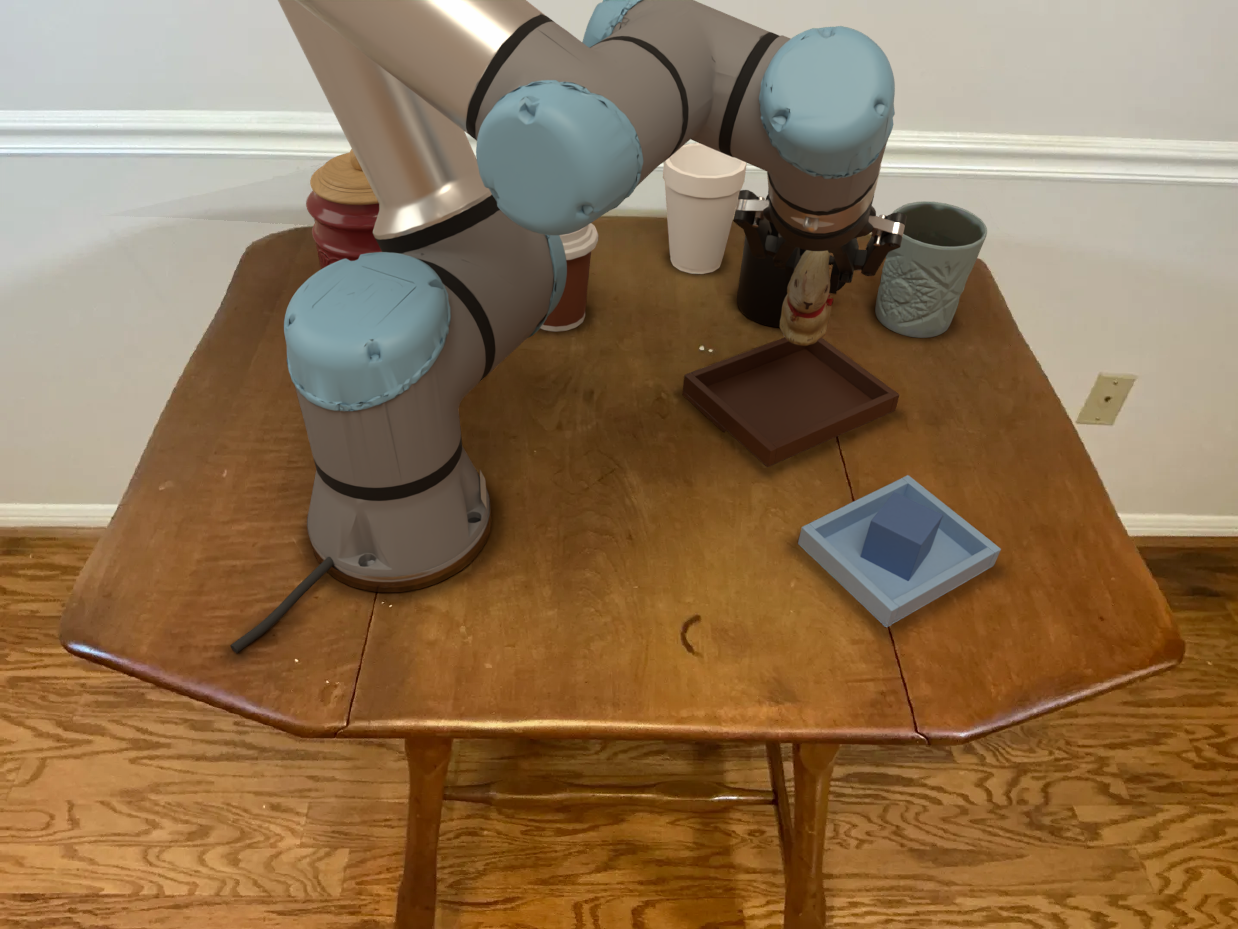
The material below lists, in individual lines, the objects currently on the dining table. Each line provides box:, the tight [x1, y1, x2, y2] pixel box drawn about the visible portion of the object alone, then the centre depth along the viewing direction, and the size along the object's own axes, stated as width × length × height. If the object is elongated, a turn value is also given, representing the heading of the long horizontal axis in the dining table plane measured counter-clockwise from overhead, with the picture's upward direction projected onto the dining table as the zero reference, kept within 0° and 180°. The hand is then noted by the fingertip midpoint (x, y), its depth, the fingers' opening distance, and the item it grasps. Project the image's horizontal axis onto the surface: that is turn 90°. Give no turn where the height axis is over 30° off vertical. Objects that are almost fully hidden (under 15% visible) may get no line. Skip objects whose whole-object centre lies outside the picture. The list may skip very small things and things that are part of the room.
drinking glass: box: [874, 201, 988, 339], centre depth 105 cm, size 10×10×12 cm
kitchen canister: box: [305, 148, 382, 270], centre depth 103 cm, size 13×13×18 cm
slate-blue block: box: [860, 492, 943, 581], centre depth 79 cm, size 4×4×4 cm
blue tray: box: [797, 474, 1002, 628], centre depth 80 cm, size 13×11×3 cm
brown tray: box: [681, 336, 900, 468], centre depth 95 cm, size 17×14×3 cm
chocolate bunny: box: [779, 250, 834, 346], centre depth 86 cm, size 6×8×10 cm
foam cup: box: [662, 142, 748, 275], centre depth 113 cm, size 10×9×13 cm
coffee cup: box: [540, 222, 599, 332], centre depth 103 cm, size 9×9×12 cm
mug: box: [736, 221, 847, 328], centre depth 107 cm, size 9×12×9 cm
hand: (813, 276), depth 90 cm, fingers closed on chocolate bunny, 3 cm apart
